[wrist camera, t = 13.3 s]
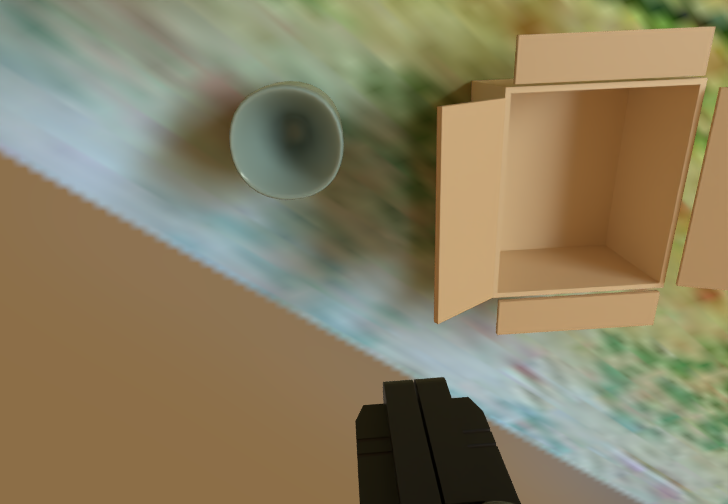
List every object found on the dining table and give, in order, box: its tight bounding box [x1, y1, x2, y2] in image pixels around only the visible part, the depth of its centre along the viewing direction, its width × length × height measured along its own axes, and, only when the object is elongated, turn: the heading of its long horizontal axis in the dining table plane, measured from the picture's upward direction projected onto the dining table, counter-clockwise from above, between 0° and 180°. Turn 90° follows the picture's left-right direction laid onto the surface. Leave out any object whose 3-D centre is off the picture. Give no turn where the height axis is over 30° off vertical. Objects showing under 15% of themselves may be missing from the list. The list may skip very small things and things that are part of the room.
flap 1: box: [434, 98, 506, 324], centre depth 34 cm, size 15×6×1 cm
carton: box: [471, 27, 715, 335], centre depth 40 cm, size 22×14×9 cm, turn 2°
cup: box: [229, 81, 344, 200], centre depth 37 cm, size 8×8×10 cm
